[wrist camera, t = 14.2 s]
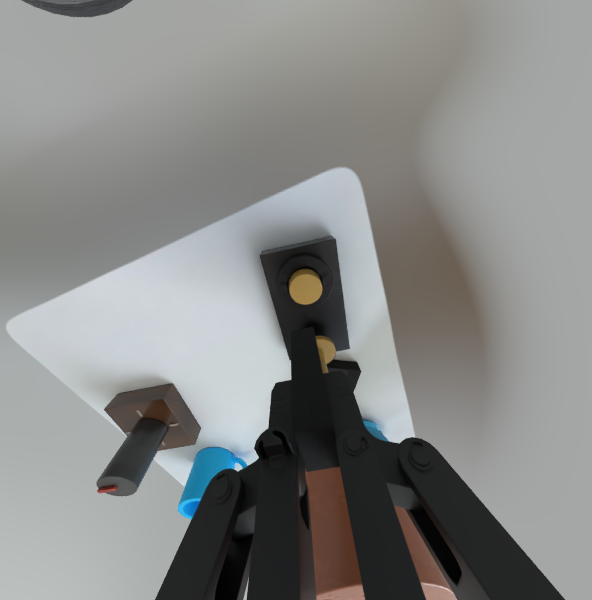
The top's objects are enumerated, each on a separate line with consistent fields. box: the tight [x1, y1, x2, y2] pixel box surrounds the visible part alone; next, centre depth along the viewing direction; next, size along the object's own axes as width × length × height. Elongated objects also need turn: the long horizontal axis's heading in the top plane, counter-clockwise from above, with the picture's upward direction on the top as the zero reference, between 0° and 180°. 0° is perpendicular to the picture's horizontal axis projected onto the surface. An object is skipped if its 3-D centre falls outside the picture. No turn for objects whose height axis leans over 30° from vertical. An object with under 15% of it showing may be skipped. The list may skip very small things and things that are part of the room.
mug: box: [178, 447, 247, 519], centre depth 41 cm, size 12×8×8 cm
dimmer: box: [97, 419, 167, 496], centre depth 32 cm, size 5×5×8 cm
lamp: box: [305, 336, 456, 600], centre depth 19 cm, size 8×8×20 cm
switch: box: [289, 269, 322, 305], centre depth 24 cm, size 4×4×2 cm
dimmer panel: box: [104, 384, 201, 451], centre depth 37 cm, size 12×10×3 cm
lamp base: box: [260, 236, 350, 360], centre depth 28 cm, size 16×9×4 cm, turn 12°
